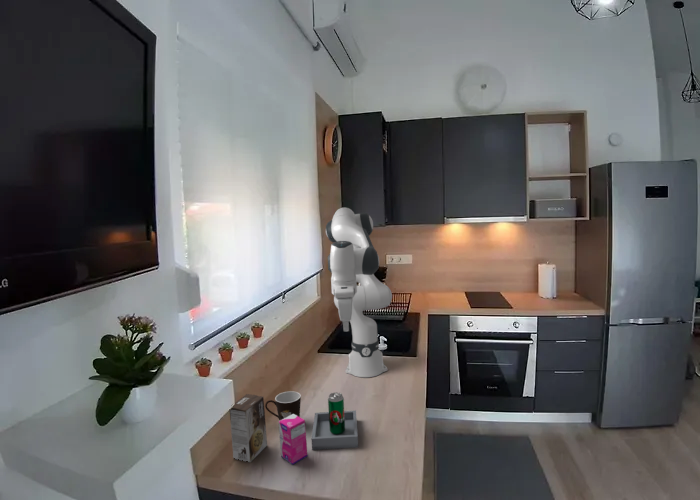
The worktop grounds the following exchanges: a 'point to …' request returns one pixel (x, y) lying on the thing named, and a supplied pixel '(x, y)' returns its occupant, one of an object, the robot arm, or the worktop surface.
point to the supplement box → (293, 438)
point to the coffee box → (248, 427)
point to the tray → (331, 441)
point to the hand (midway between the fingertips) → (346, 327)
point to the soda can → (336, 413)
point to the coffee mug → (286, 404)
